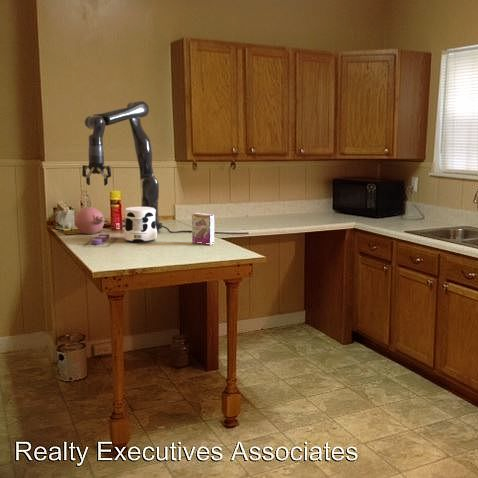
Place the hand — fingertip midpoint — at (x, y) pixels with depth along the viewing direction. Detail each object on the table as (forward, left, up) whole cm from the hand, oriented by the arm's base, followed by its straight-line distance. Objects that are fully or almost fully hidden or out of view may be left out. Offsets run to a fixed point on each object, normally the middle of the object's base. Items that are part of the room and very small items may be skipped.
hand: (97, 185), depth 320 cm
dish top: (-2, -4, -30) cm, 30 cm away
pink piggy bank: (+8, -16, -30) cm, 35 cm away
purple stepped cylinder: (-2, +12, -30) cm, 32 cm away
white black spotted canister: (-22, 0, -30) cm, 37 cm away
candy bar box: (-56, +4, -30) cm, 64 cm away
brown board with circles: (-2, +4, -30) cm, 30 cm away
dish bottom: (-2, +4, -30) cm, 30 cm away
